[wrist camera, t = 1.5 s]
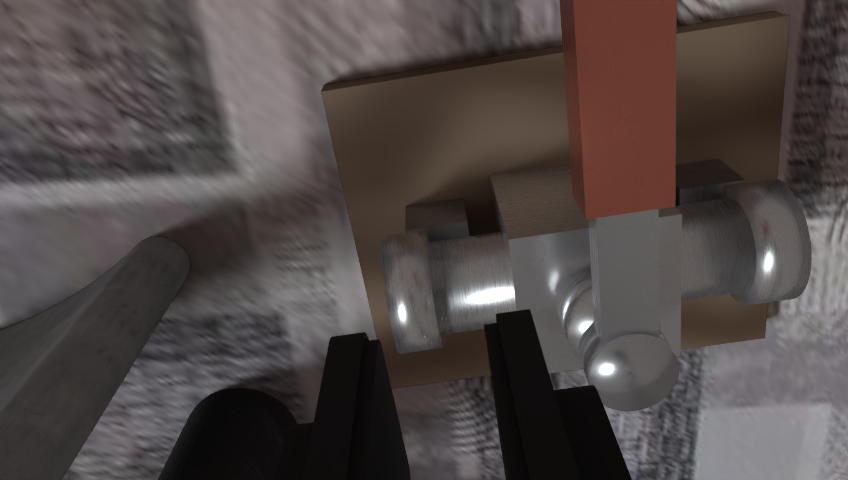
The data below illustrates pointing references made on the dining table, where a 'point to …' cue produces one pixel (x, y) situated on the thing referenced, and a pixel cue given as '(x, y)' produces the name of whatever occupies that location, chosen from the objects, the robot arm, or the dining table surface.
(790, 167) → the dining table surface
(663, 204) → the lever
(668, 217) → the valve body
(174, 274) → the hip flask
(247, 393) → the travel mug
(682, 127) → the walnut board
